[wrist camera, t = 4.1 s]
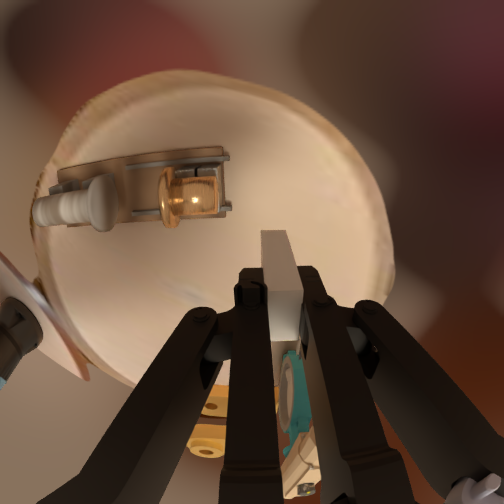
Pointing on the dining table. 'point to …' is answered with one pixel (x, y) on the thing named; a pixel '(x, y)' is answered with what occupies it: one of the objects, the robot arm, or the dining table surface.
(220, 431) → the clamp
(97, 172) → the pipe jig
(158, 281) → the dining table surface
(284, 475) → the butterfly valve
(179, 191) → the coupling
